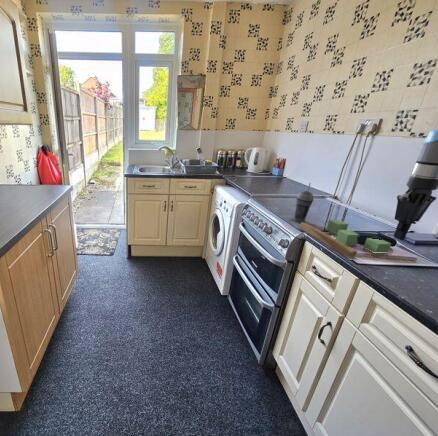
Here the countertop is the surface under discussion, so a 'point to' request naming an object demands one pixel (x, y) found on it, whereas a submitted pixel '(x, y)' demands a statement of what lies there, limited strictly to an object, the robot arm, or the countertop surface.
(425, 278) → the countertop surface
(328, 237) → the oak rail
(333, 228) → the block
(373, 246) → the block
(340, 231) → the block middle
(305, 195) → the beverage cup
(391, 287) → the countertop surface
